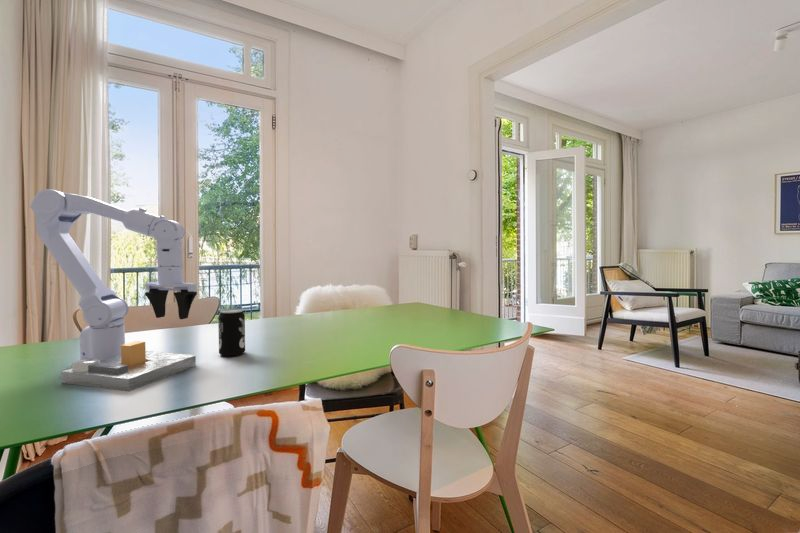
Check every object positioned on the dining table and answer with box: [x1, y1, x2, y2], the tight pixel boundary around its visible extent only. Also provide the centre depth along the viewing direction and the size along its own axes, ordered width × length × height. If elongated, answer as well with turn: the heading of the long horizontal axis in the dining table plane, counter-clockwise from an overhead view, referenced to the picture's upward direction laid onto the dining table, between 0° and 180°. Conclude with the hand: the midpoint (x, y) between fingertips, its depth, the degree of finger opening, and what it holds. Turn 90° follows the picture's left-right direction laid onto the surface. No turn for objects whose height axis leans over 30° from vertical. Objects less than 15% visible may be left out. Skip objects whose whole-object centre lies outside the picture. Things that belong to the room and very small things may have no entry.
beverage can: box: [217, 308, 246, 358], centre depth 107 cm, size 7×7×12 cm
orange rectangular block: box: [121, 340, 147, 367], centre depth 91 cm, size 2×4×7 cm, turn 165°
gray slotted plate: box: [60, 350, 197, 392], centre depth 91 cm, size 18×18×4 cm
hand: (172, 317), depth 104 cm, fingers open, 7 cm apart
